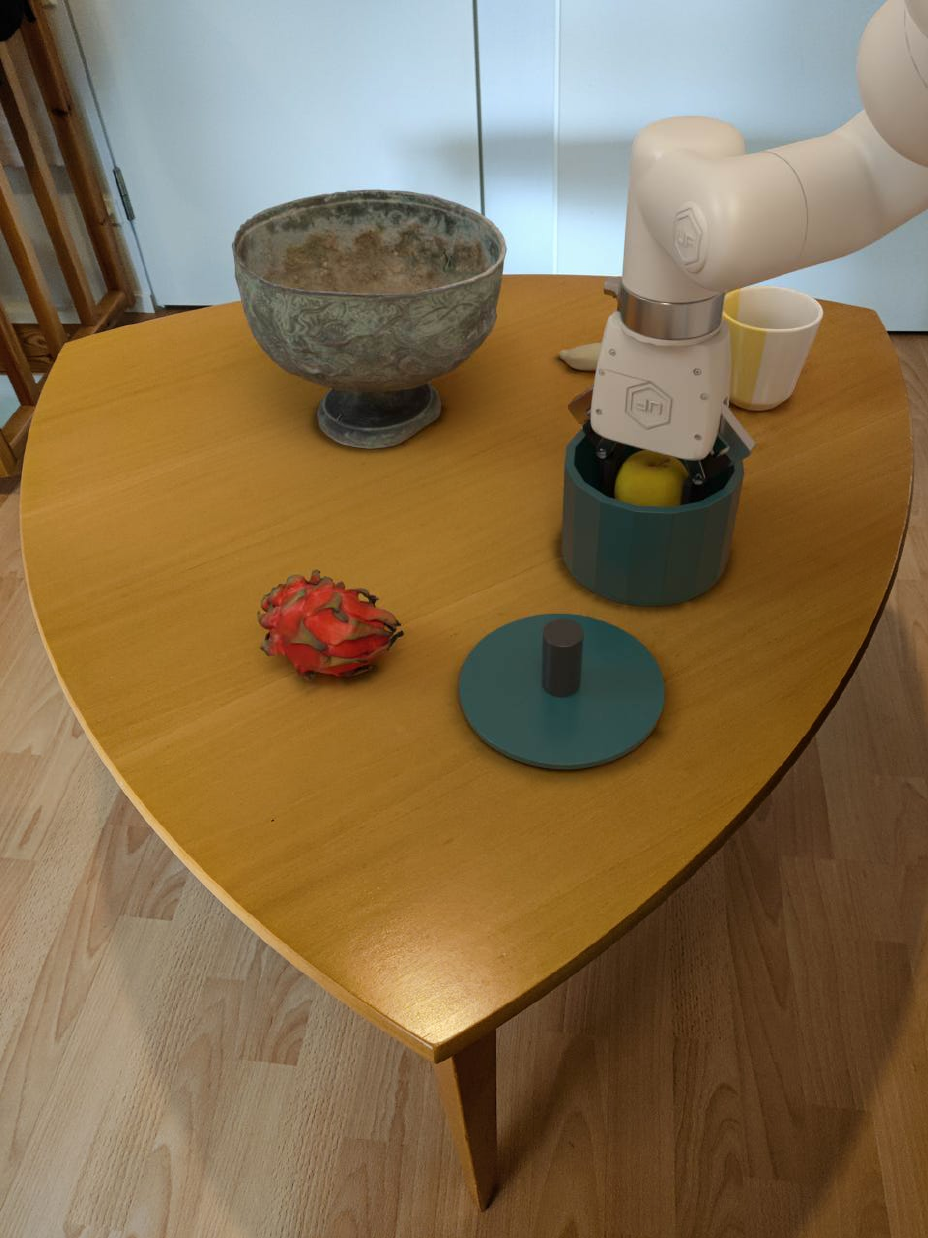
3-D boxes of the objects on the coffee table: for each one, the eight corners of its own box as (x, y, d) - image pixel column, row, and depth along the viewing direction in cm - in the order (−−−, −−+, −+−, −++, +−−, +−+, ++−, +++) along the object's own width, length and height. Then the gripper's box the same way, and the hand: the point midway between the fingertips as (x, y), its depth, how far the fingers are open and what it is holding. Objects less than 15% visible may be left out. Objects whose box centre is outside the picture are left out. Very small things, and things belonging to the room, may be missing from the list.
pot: (748, 529, 91) (766, 436, 84) (691, 627, 82) (707, 532, 75) (602, 487, 97) (608, 396, 90) (534, 574, 88) (535, 481, 81)
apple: (683, 555, 85) (694, 477, 79) (607, 548, 86) (613, 470, 80) (686, 510, 89) (696, 433, 84) (614, 503, 90) (620, 428, 85)
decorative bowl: (214, 399, 111) (178, 220, 97) (403, 330, 122) (396, 161, 108) (342, 518, 96) (322, 328, 82) (544, 428, 107) (557, 246, 93)
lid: (693, 662, 79) (704, 601, 75) (613, 807, 70) (619, 746, 65) (517, 601, 86) (517, 540, 81) (421, 725, 76) (415, 664, 71)
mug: (798, 374, 111) (817, 284, 103) (808, 425, 103) (829, 332, 96) (673, 370, 112) (683, 281, 105) (674, 419, 105) (685, 327, 98)
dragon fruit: (261, 655, 84) (399, 686, 83) (228, 674, 76) (381, 709, 75) (279, 557, 83) (419, 587, 82) (247, 565, 74) (403, 599, 74)
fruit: (700, 351, 115) (704, 324, 113) (591, 386, 111) (592, 359, 108) (663, 326, 120) (666, 300, 118) (556, 359, 115) (557, 332, 113)
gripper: (543, 303, 74) (540, 498, 87) (771, 351, 68) (733, 555, 80) (585, 264, 79) (577, 454, 91) (803, 306, 72) (762, 505, 85)
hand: (650, 500), depth 85 cm, fingers closed on apple, 6 cm apart
